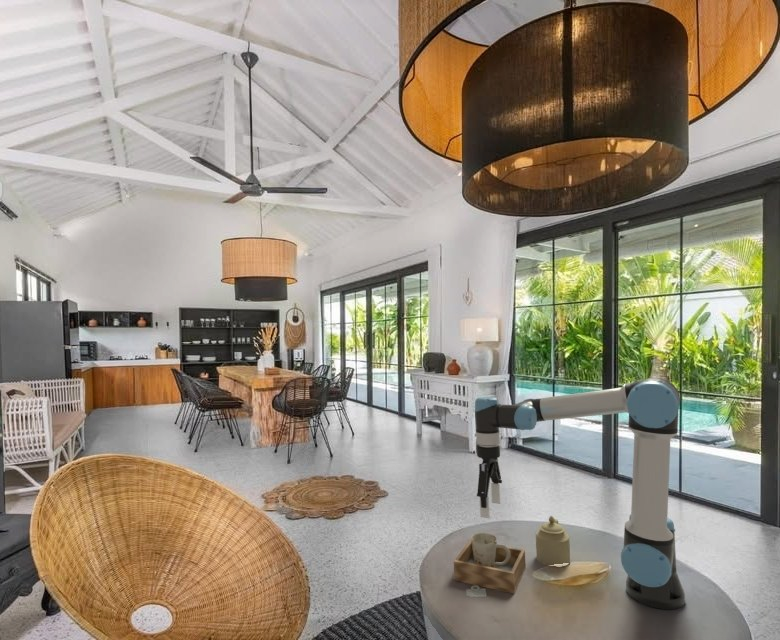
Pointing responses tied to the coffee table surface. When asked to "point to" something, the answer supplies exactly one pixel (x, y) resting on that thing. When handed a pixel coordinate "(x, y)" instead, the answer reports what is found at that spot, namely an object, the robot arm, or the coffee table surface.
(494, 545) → the mug
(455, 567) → the open wooden crate
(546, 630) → the coffee table surface
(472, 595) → the mounting bracket
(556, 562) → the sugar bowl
